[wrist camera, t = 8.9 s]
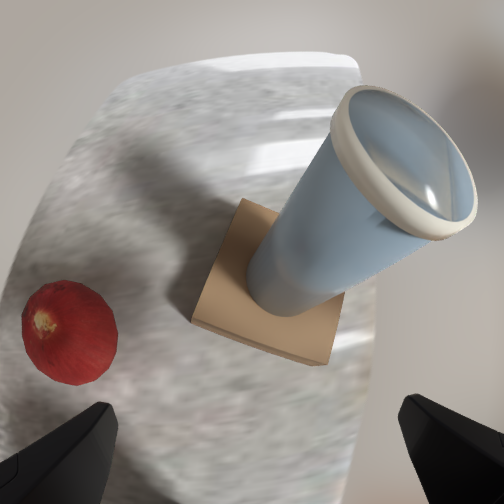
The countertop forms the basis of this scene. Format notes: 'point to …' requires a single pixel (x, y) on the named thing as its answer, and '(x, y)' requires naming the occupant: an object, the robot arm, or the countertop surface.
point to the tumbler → (362, 203)
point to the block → (245, 308)
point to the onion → (69, 332)
